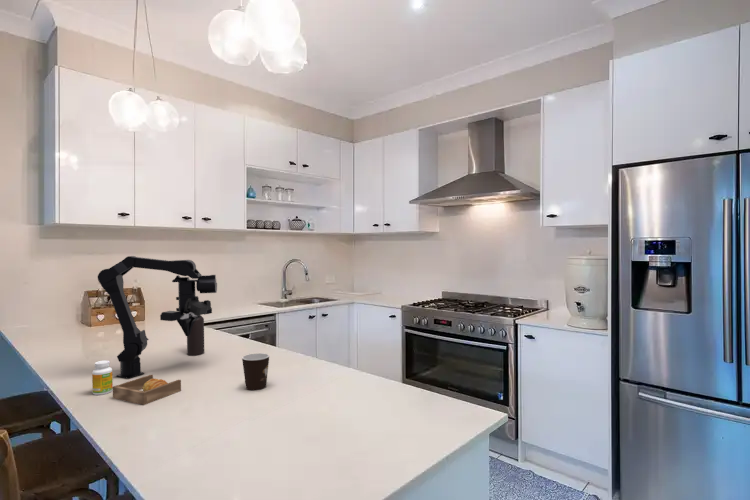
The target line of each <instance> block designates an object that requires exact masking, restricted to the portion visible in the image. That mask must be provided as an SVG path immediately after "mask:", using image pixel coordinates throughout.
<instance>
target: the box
mask: <svg viewBox="0 0 750 500" xmlns="http://www.w3.org/2000/svg"><path fill="white" fill-rule="evenodd" d="M153 378H154V374H149V375H145V376H142V377H138V378H135V379H132V380H129V381H125V382H123V383H120V384H118V385H113V390H112V399H115V400H120V401H122V402H123V401H124V402H128V403H132V404H133V403H134V404H138V405H142V406H146V405H148V404H150V403H154V402H156V401H158V400H161V399H164V398H166V397H169V396H171V395H174V394H176V393H179V392H181V391H182V380H181V379H176V380H173V381H171V382H167V384H165V385H162V386H159V387H156V388H153V389H151V390H148V391H145V392H144V391H143V389H142V388H143V385H144V384H145V383H146V382H147V381H148V380H150V379H153Z"/></svg>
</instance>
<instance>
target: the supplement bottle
mask: <svg viewBox="0 0 750 500" xmlns="http://www.w3.org/2000/svg"><path fill="white" fill-rule="evenodd" d="M110 363H111V362H110V360H99V361H96V362H94V369H93V370H92V373H91V381H92V383H91V384H92V390H91V391H92V394H93V395H96V396H102V395H106V394H110V393H112V392H113V386H114V385H113V381H114V380H113V368H112V367H110Z"/></svg>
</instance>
